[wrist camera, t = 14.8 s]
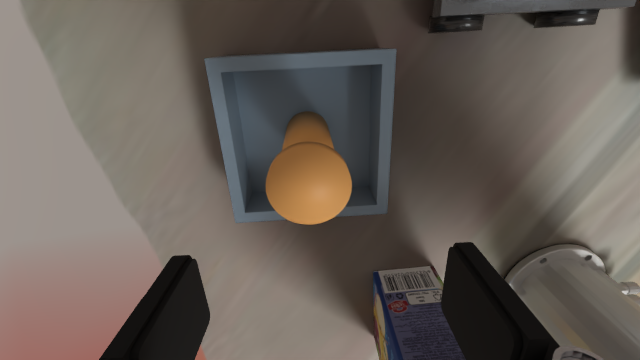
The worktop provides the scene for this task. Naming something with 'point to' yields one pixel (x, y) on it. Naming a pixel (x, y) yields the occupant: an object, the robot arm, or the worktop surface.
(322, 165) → the pin
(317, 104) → the tray
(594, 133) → the worktop surface
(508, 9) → the trolley
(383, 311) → the blue cardboard box
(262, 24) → the worktop surface
